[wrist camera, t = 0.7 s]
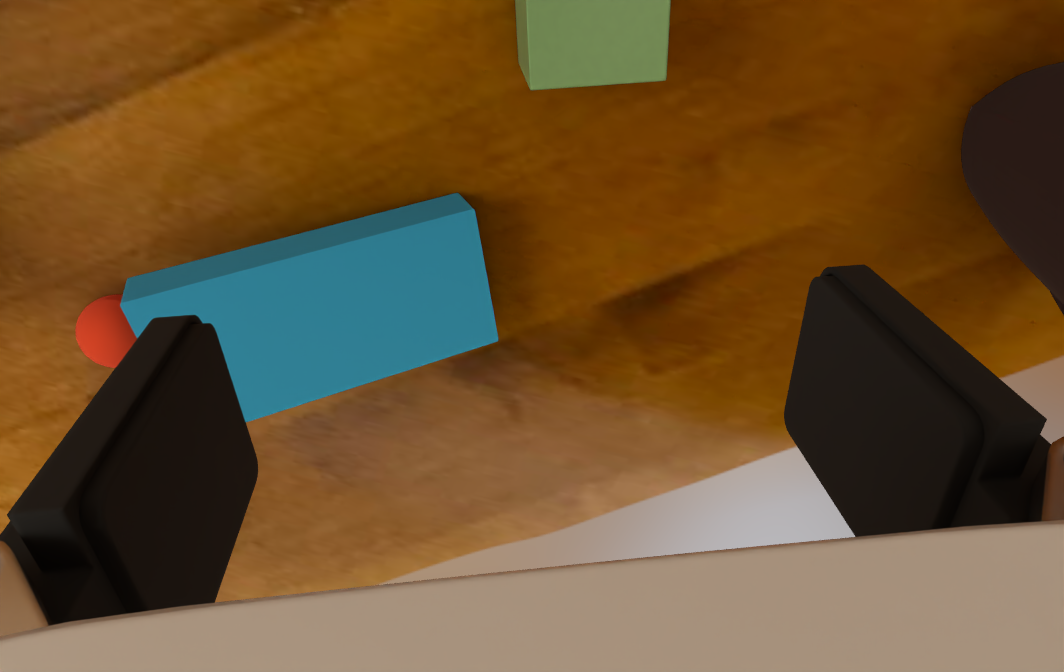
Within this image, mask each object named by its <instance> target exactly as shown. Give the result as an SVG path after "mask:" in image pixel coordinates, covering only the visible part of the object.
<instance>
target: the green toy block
mask: <svg viewBox="0 0 1064 672" xmlns="http://www.w3.org/2000/svg"><path fill="white" fill-rule="evenodd" d="M670 5H671V0H515V8H516V27H517V45H518V63H519V65H520V67H521V70H522V72H523V74H524V77H525V79H526V81H527V84H528V86H529V88H530V90H543V89H557V88H571V87H585V86H599V85H613V84H627V83H641V82H655V81H665V80H666V77H667V59H668V41H669V23H670Z"/></svg>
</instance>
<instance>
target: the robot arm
mask: <svg viewBox="0 0 1064 672" xmlns="http://www.w3.org/2000/svg"><path fill="white" fill-rule="evenodd" d="M784 419H785V425H786V428H787V430H788V432H789V434H790V436H791V437H792V439H793V440H794V442H795V444H796V445H797V447H798V448H799V450H800V451H801V453H802V454H803V455H804V457H805V459H806V461H807V462H808V463H809V465H810V467H811V468H812V470H813V471H814V473H815V474H816V476H817V478H818V479H819V481H820V482H821V484H822V485H823V487H824V488H825V490H826V491H827V493H828V495H829V496H830V498H831V499H832V501H833V502H834V504H835V505H836V507H837V508H838V510H839V512H840V513H841V515H842V516H843V518H844V519H845V521H846V523H847V524H848V526H849V527H850V529H851V530H852V532H853V533H854V535H855V537H851V538H840V539H830V540H821V541H820V540H819V541H809V542H799V543H789V544H779V545H767V546H757V547H748V548H747V547H746V548H737V549H726V550H715V551H705V552H696V553H685V554H675V555H665V556H655V557H645V558H635V559H625V560H615V561H605V562H595V563H585V564H576V565H566V566H558V567H547V568H537V569H527V570H517V571H507V572H498V573H488V574H478V575H469V576H459V577H450V578H441V579H432V580H422V581H413V582H403V583H394V584H385V585H375V586H366V587H357V588H347V589H338V590H329V591H319V592H310V593H301V594H291V595H282V596H273V597H263V598H254V599H245V600H235V601H226V602H216V603H215V600H216V597H217V594H218V591H219V588H220V585H221V582H222V579H223V576H224V574H225V571H226V568H227V565H228V562H229V559H230V556H231V553H232V550H233V548H234V545H235V542H236V539H237V536H238V533H239V530H240V527H241V524H242V522H243V519H244V516H245V513H246V510H247V507H248V504H249V501H250V498H251V495H252V493H253V490H254V487H255V484H256V481H257V476H258V462H257V457H256V454H255V450H254V447H253V444H252V441H251V438H250V435H249V432H248V429H247V426H246V422H245V419H244V416H243V413H242V410H241V407H240V404H239V401H238V398H237V395H236V391H235V388H234V385H233V382H232V379H231V376H230V373H229V370H228V367H227V363H226V360H225V357H224V354H223V351H222V348H221V345H220V342H219V339H218V336H217V333H216V330H215V328H214V326H213V325H212V324H210V323H202V321H201V320H200V318H199V317H198V316H196V315H183V316H169V317H157V318H153V319H152V320H151V321H150V322H149V324H148V325H147V326H146V328H145V329H144V330H143V332H142V333H141V334H140V336H139V337H138V338H137V340H136V341H135V343H134V344H133V345H132V347H131V348H130V349H129V351H128V352H127V353H126V355H125V356H124V357H123V359H122V360H121V361H120V363H119V364H118V365H117V367H116V368H115V370H114V371H113V372H112V374H111V375H110V376H109V378H108V379H107V380H106V382H105V383H104V384H103V386H102V387H101V388H100V390H99V391H98V392H97V394H96V395H95V397H94V398H93V399H92V401H91V402H90V403H89V405H88V406H87V407H86V409H85V410H84V411H83V413H82V414H81V415H80V417H79V418H78V419H77V421H76V422H75V424H74V425H73V426H72V428H71V429H70V430H69V432H68V433H67V434H66V436H65V437H64V438H63V440H62V441H61V442H60V444H59V445H58V446H57V448H56V449H55V451H54V452H53V453H52V455H51V456H50V457H49V459H48V460H47V461H46V463H45V464H44V465H43V467H42V468H41V469H40V471H39V472H38V473H37V475H36V476H35V478H34V479H33V480H32V482H31V483H30V484H29V486H28V487H27V488H26V490H25V491H24V492H23V494H22V495H21V496H20V498H19V499H18V500H17V502H16V503H15V505H14V506H13V507H12V509H11V510H10V511H9V513H8V514H7V516H8V517H9V519H10V522H9V524H8V525H7V526H6V528H5V529H4V531H3V532H2V533H1V535H0V672H1064V437H1062V438H1060V439H1058V440H1057V441H1055V442H1053V443H1052V444H1050V443H1049V442H1048V441H1047V440H1045V439H1044V438H1043V437H1042V436H1041V435H1040V433H1041V431H1042V429H1043V427H1044V424H1045V422H1046V420H1047V419H1046V418H1045V417H1044V416H1042V415H1041V414H1040V413H1039V412H1038V411H1036V410H1035V409H1034V408H1033V407H1032V406H1031V405H1030V404H1028V403H1027V402H1026V401H1025V400H1024V399H1022V398H1021V397H1020V396H1019V395H1018V394H1017V393H1015V392H1014V391H1013V390H1012V389H1011V388H1010V387H1008V386H1007V385H1006V384H1005V383H1004V382H1003V381H1001V380H1000V379H999V378H998V377H997V376H996V375H994V374H993V373H992V372H991V371H990V370H989V369H987V368H986V367H985V366H984V365H983V364H982V363H980V362H979V361H978V360H977V359H976V358H974V357H973V356H972V355H971V354H970V353H969V352H967V351H966V350H965V349H964V348H963V347H962V346H960V345H959V344H958V343H957V342H956V341H955V340H953V339H952V338H951V337H950V336H949V335H948V334H946V333H945V332H944V331H943V330H942V329H940V328H939V327H938V326H937V325H936V324H935V323H933V322H932V321H931V320H930V319H929V318H928V317H926V316H925V315H924V314H923V313H922V312H921V311H919V310H918V309H917V308H916V307H915V306H914V305H912V304H911V303H910V302H909V301H908V300H907V299H905V298H904V297H903V296H902V295H901V294H899V293H898V292H897V291H896V290H895V289H894V288H892V287H891V286H890V285H889V284H888V283H887V282H885V281H884V280H883V279H882V278H881V277H880V276H878V275H877V274H876V273H875V272H874V271H873V270H871V269H870V268H869V267H867V266H866V265H851V266H838V267H827V268H826V269H824V270H823V272H822V274H821V275H820V277H815V278H814V279H813V280H812V282H811V284H810V287H809V292H808V297H807V302H806V307H805V311H804V316H803V321H802V326H801V331H800V336H799V341H798V346H797V351H796V356H795V361H794V366H793V370H792V375H791V380H790V385H789V390H788V395H787V400H786V405H785V411H784Z"/></svg>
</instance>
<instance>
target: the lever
mask: <svg viewBox="0 0 1064 672" xmlns="http://www.w3.org/2000/svg"><path fill="white" fill-rule="evenodd" d="M183 315H196V316H198V317H199V318H200V320H201V321H202V323H210V324H212V325H213V326H214V328H215V330H216V333H217V336H218V339H219V342H220V345H221V348H222V351H223V354H224V357H225V360H226V363H227V367H228V370H229V373H230V376H231V379H232V382H233V385H234V388H235V391H236V395H237V398H238V401H239V404H240V407H241V410H242V413H243V416H244V419H245V422H248V421H252V420H255V419H258V418H261V417H264V416H267V415H270V414H273V413H276V412H280V411H283V410H286V409H289V408H292V407H295V406H298V405H301V404H304V403H308V402H311V401H314V400H317V399H320V398H323V397H326V396H329V395H332V394H336V393H339V392H342V391H345V390H348V389H351V388H354V387H357V386H360V385H364V384H367V383H370V382H373V381H376V380H379V379H382V378H385V377H388V376H392V375H395V374H398V373H401V372H404V371H407V370H410V369H413V368H416V367H420V366H423V365H426V364H429V363H432V362H435V361H438V360H441V359H444V358H448V357H451V356H454V355H457V354H460V353H463V352H466V351H469V350H472V349H476V348H479V347H482V346H485V345H488V344H491V343H494V342H497V341H498V334H497V329H496V323H495V318H494V312H493V307H492V301H491V296H490V290H489V285H488V279H487V274H486V268H485V263H484V257H483V252H482V246H481V241H480V236H479V230H478V225H477V219H476V214H475V210H474V209H473V208H472V207H471V206H470V205H469V204H468V203H467V202H466V201H465V199H464V198H463V197H462V196H461V195H460V194H459V193H454V194H450V195H446V196H442V197H439V198H435V199H431V200H427V201H423V202H419V203H416V204H412V205H408V206H404V207H400V208H396V209H392V210H389V211H385V212H381V213H377V214H373V215H369V216H365V217H362V218H358V219H354V220H350V221H346V222H342V223H339V224H335V225H331V226H327V227H323V228H319V229H315V230H312V231H308V232H304V233H300V234H296V235H292V236H289V237H285V238H281V239H277V240H273V241H269V242H265V243H262V244H258V245H254V246H250V247H246V248H242V249H239V250H235V251H231V252H227V253H223V254H219V255H215V256H212V257H208V258H204V259H200V260H196V261H192V262H188V263H185V264H181V265H177V266H173V267H169V268H165V269H162V270H158V271H154V272H150V273H146V274H142V275H138V276H135V277H131V278H128V279H127V282H126V285H125V289H124V293H123V295H119V294H116V295H109V296H105V297H101V298H99V299H97V300H95V301H93V302H92V303H90V304H89V305H88V306H86V308H85V309H84V310H83V311H82V313H81V314H80V315H79V318H78V320H77V324H76V339H77V342H78V344H79V347H80V349H81V350H82V351H83V352H84V354H85V355H86V356H87V357H88V358H90V359H91V360H93V361H94V362H96V363H98V364H100V365H103V366H106V367H112V368H116V367H117V365H118V364H119V363H120V361H121V360H122V359H123V357H124V356H125V355H126V353H127V352H128V351H129V349H130V348H131V347H132V345H133V344H134V343H135V341H136V340H137V338H138V337H139V336H140V334H141V333H142V332H143V330H144V329H145V328H146V326H147V325H148V324H149V322H150V321H151V320H152V319H153V318H157V317H169V316H183Z"/></svg>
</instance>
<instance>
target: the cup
mask: <svg viewBox="0 0 1064 672" xmlns="http://www.w3.org/2000/svg"><path fill="white" fill-rule="evenodd" d="M961 160H962V168H963V173H964V177H965V180H966V182H967V185H968V187H969V189H970V191H971V193H972V194H973V196H974V198H975V199H976V201H977V203H978V204H979V206H980V207H981V209H982V210H983V212H984V213H985V215H986V216H987V218H988V219H989V221H990V222H991V224H992V225H993V227H994V228H995V229H996V231H997V232H998V233H999V235H1000V236H1001V237H1002V238H1003V240H1004V241H1005V242H1006V243H1007V245H1008V246H1009V247H1010V248H1011V249H1012V250H1013V252H1014V253H1015V254H1016V255H1017V256H1018V257H1019V258H1020V259H1021V261H1022V262H1023V263H1024V264H1025V265H1026V266H1027V267H1028V268H1029V269H1030V270H1031V271H1032V272H1033V274H1034V275H1035V276H1036V277H1037V278H1038V279H1039V280H1040V281H1041V282H1042V283H1043V284H1044V285H1045V286H1046V287H1047V288H1048V289H1049V290H1050V292H1051V294H1052V296H1053V298H1054V300H1055V301H1056V303H1057V305H1058V307H1059V308H1060V310H1061V311H1062V313H1063V315H1064V62H1062V63H1057V64H1052V65H1048V66H1044V67H1041V68H1037V69H1034V70H1031V71H1029V72H1026V73H1024V74H1021V75H1019V76H1017V77H1015V78H1013V79H1011V80H1009V81H1007V82H1006V83H1004V84H1002V85H1001V86H999V87H998V88H996V89H994V90H993V91H992V92H990V93H989V94H988V95H986V96H985V97H984V98H982V99H981V100H980V101H979V102H977V103H976V104H975V105H974V106H972V108H971V109H970V112H969V115H968V118H967V121H966V124H965V128H964V132H963V139H962V149H961Z"/></svg>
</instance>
